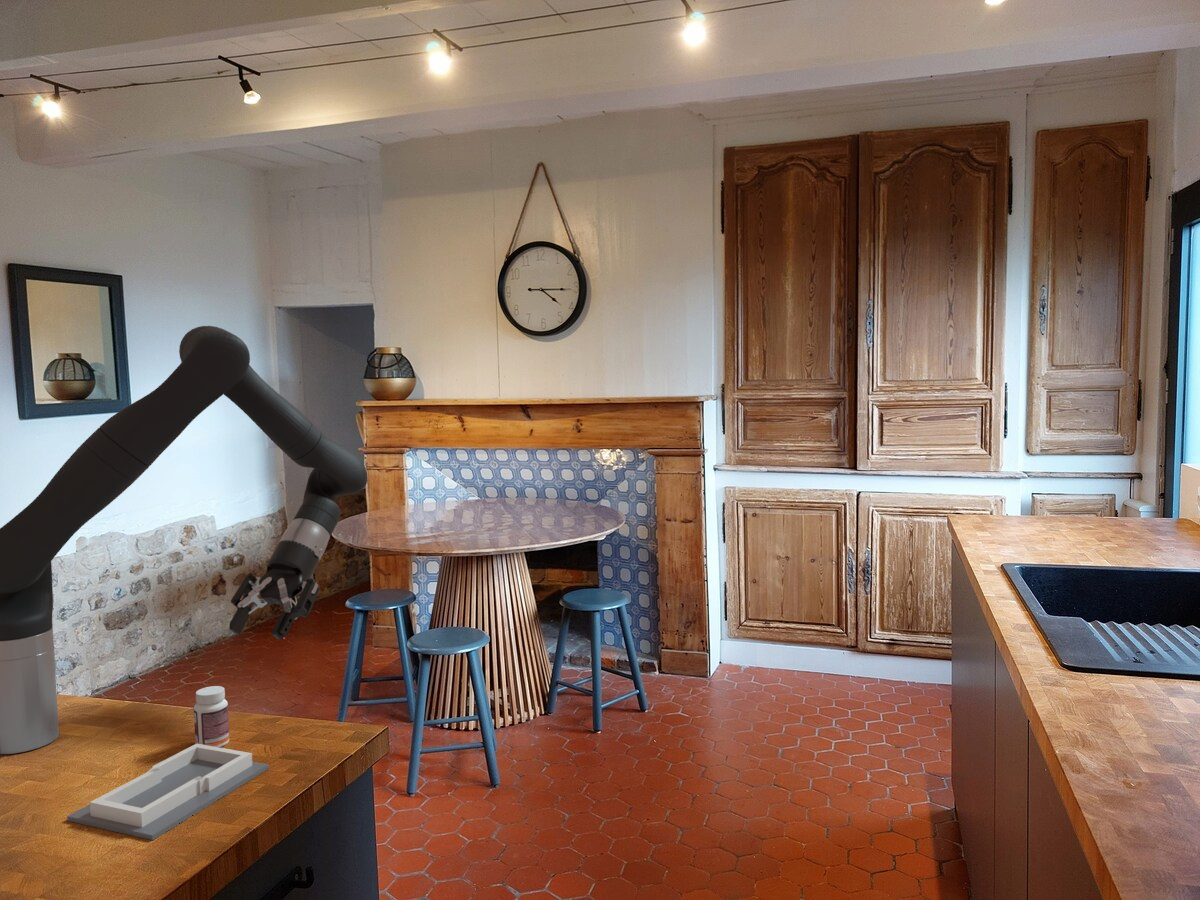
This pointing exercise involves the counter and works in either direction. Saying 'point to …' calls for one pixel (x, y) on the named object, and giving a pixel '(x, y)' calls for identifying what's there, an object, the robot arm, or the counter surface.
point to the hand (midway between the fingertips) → (255, 634)
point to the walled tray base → (170, 791)
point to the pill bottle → (211, 717)
